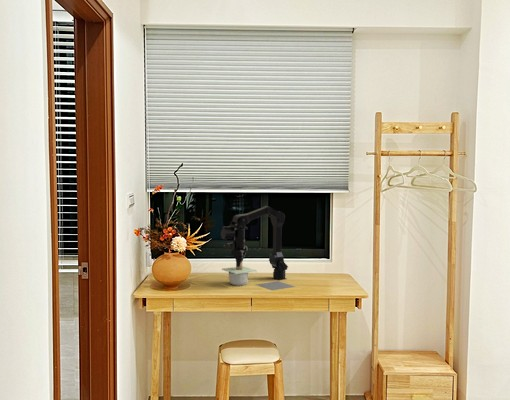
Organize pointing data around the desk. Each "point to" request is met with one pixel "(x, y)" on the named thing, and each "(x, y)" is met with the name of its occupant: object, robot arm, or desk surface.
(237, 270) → the lid
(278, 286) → the mat
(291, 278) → the desk surface
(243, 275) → the teacup
